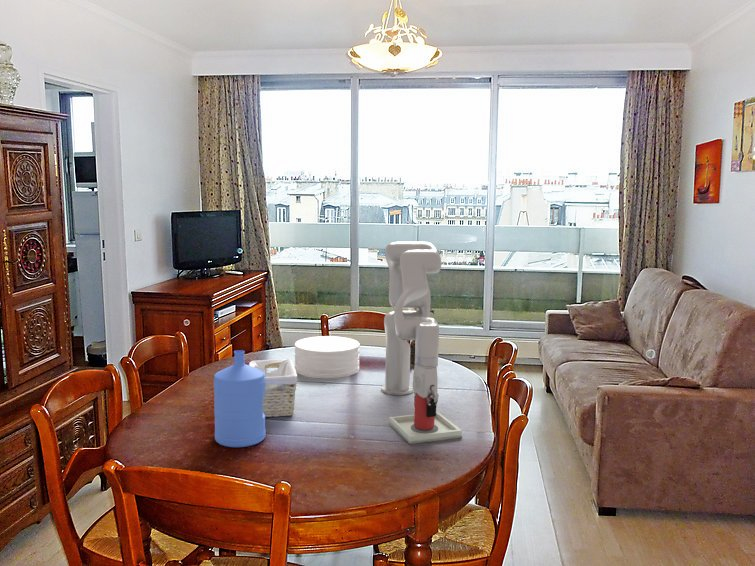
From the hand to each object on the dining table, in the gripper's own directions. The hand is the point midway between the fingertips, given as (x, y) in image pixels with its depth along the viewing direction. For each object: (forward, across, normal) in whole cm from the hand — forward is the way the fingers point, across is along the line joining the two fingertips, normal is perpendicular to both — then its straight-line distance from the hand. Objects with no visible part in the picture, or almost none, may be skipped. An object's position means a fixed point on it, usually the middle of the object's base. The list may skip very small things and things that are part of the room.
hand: (424, 411), depth 211 cm
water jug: (+7, -11, -58) cm, 59 cm away
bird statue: (+7, -72, +29) cm, 78 cm away
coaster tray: (+6, 0, 0) cm, 7 cm away
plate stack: (+7, -79, -11) cm, 80 cm away
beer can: (+6, 0, 0) cm, 6 cm away
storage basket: (+7, -37, -43) cm, 57 cm away
